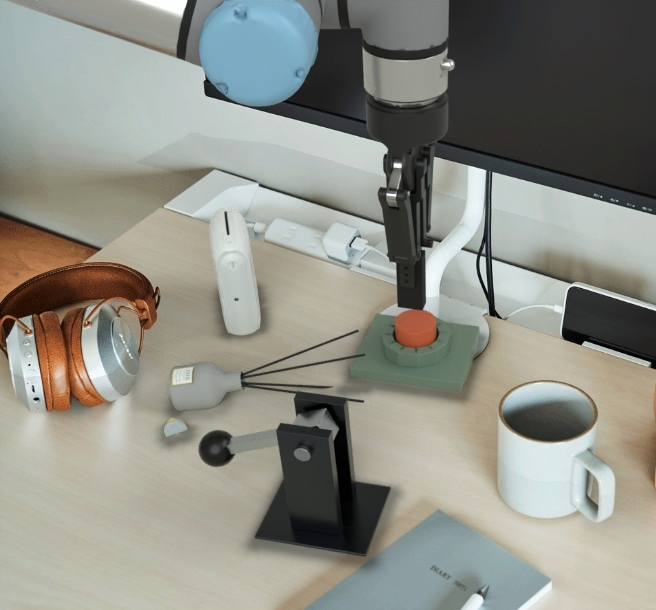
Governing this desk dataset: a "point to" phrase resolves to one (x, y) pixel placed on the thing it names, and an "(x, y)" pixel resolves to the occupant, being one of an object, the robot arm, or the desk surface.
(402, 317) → the button
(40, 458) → the desk surface
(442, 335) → the button block
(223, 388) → the reed diffuser
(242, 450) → the tap lever
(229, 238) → the photo printer
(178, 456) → the desk surface
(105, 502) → the desk surface
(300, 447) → the bracket
